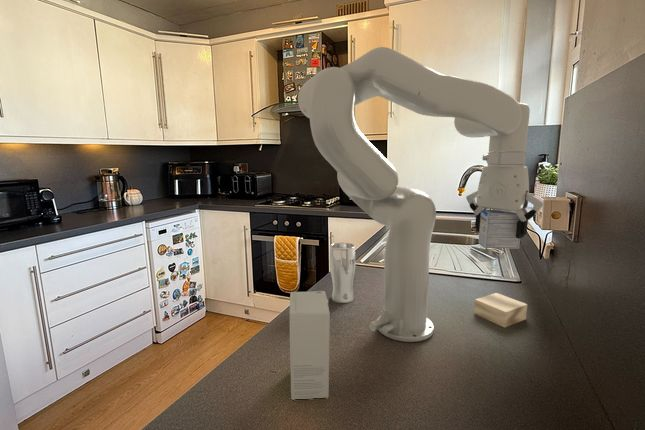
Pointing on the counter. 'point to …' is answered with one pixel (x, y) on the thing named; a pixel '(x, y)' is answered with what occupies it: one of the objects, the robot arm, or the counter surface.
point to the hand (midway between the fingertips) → (499, 233)
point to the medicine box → (498, 229)
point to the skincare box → (309, 344)
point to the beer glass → (342, 271)
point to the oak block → (500, 309)
